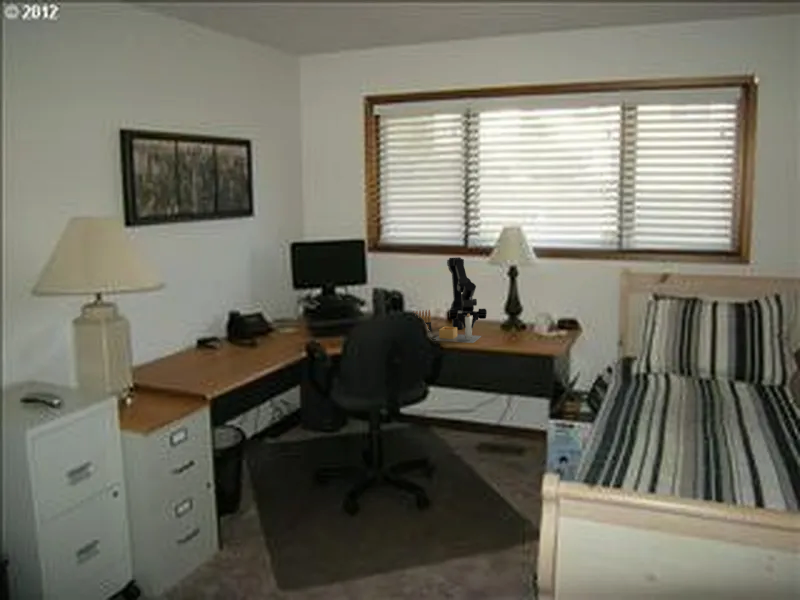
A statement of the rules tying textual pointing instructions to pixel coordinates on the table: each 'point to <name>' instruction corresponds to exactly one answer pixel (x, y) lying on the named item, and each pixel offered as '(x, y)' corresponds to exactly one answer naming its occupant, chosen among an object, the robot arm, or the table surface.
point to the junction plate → (454, 335)
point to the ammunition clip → (426, 318)
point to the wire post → (468, 326)
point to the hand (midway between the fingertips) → (468, 327)
